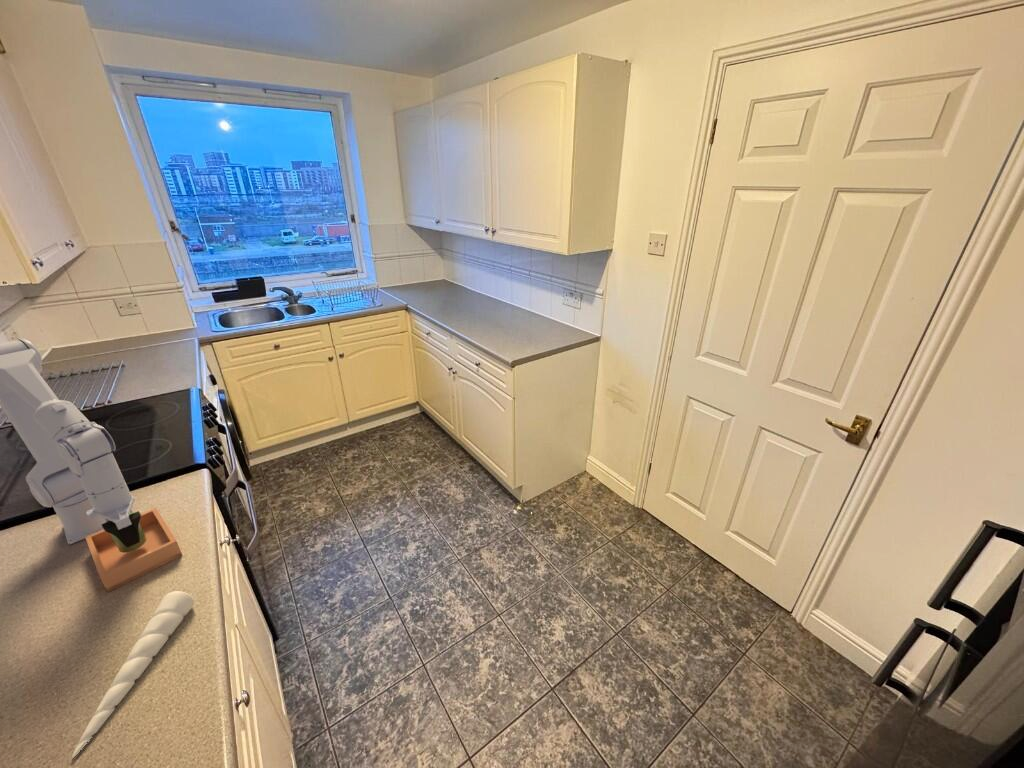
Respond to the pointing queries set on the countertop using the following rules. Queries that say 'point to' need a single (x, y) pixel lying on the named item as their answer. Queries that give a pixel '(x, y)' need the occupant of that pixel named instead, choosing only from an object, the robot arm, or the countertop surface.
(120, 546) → the cucumber piece
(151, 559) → the terracotta bin
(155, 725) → the countertop surface
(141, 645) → the unicorn horn
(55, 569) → the countertop surface
